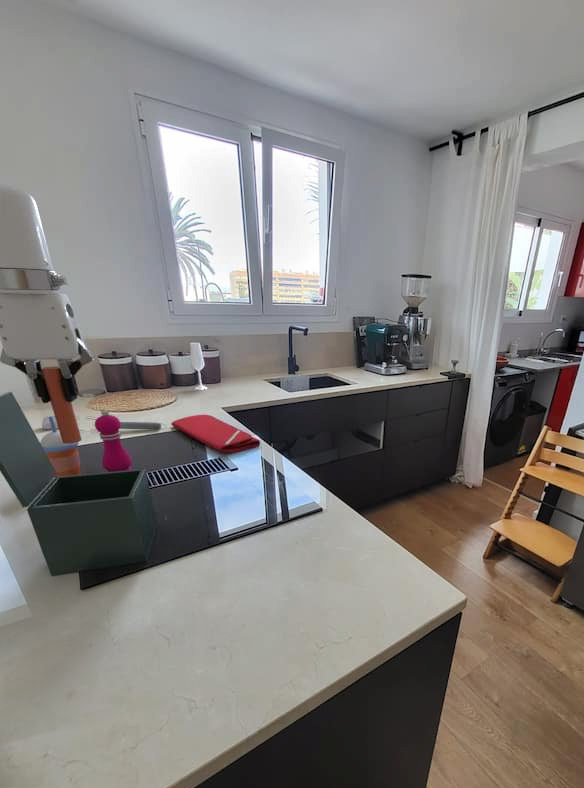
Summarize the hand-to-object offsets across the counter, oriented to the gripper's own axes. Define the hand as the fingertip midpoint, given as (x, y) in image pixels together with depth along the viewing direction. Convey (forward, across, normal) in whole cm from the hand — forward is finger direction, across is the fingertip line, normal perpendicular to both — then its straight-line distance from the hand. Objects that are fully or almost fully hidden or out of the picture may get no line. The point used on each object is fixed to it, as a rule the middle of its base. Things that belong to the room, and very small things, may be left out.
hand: (60, 399), depth 67 cm
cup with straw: (+33, +20, -44) cm, 58 cm away
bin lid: (+9, +9, -3) cm, 13 cm away
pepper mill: (+33, +6, -41) cm, 53 cm away
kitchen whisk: (+33, +17, -84) cm, 92 cm away
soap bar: (+33, +40, -94) cm, 108 cm away
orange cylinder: (+8, 0, 0) cm, 8 cm away
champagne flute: (+33, -9, -152) cm, 156 cm away
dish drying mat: (+33, -18, -71) cm, 80 cm away
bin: (+33, 0, -3) cm, 33 cm away
